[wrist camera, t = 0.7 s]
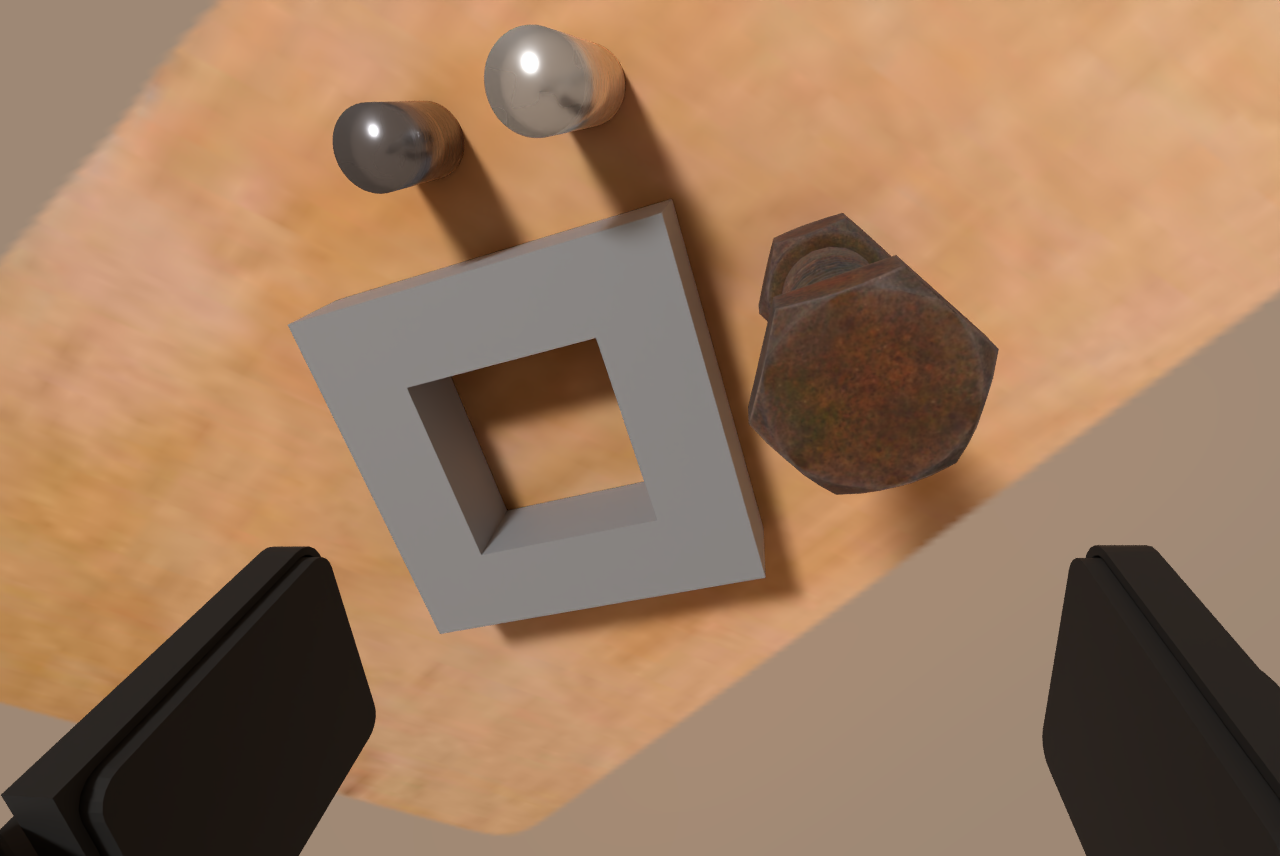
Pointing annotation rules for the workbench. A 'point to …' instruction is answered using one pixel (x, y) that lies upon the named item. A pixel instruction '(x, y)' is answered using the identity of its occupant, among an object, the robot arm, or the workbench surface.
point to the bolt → (863, 363)
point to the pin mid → (551, 82)
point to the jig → (453, 460)
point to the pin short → (397, 144)
